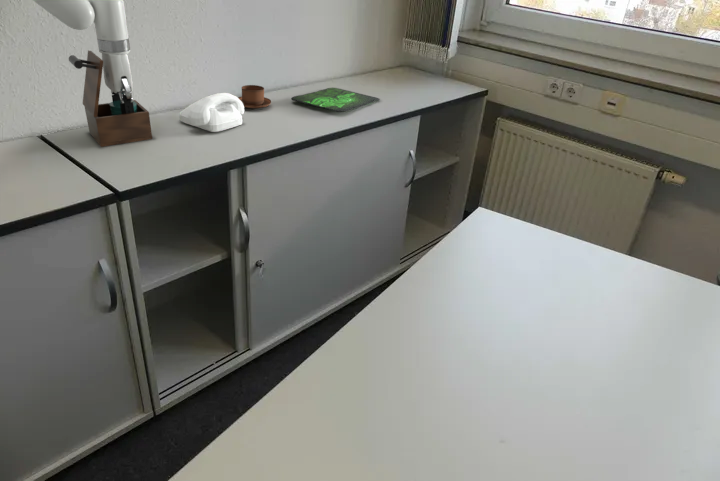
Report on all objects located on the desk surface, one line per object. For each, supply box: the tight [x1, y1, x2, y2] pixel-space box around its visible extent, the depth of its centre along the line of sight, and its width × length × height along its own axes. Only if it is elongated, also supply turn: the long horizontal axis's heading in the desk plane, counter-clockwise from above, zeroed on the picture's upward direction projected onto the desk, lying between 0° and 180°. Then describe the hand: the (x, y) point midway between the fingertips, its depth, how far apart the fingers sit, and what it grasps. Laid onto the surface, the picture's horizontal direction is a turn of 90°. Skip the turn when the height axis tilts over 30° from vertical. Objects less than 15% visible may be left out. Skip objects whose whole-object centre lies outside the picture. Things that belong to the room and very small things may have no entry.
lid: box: [68, 49, 103, 117], centre depth 139 cm, size 14×12×6 cm
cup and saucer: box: [237, 84, 272, 110], centre depth 180 cm, size 12×12×6 cm
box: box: [83, 99, 153, 148], centre depth 149 cm, size 14×12×8 cm
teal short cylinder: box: [109, 100, 137, 116], centre depth 148 cm, size 7×7×3 cm
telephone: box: [179, 92, 245, 133], centre depth 163 cm, size 16×20×9 cm
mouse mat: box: [290, 87, 381, 113], centre depth 192 cm, size 27×22×1 cm
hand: (124, 112), depth 149 cm, fingers closed on teal short cylinder, 6 cm apart
